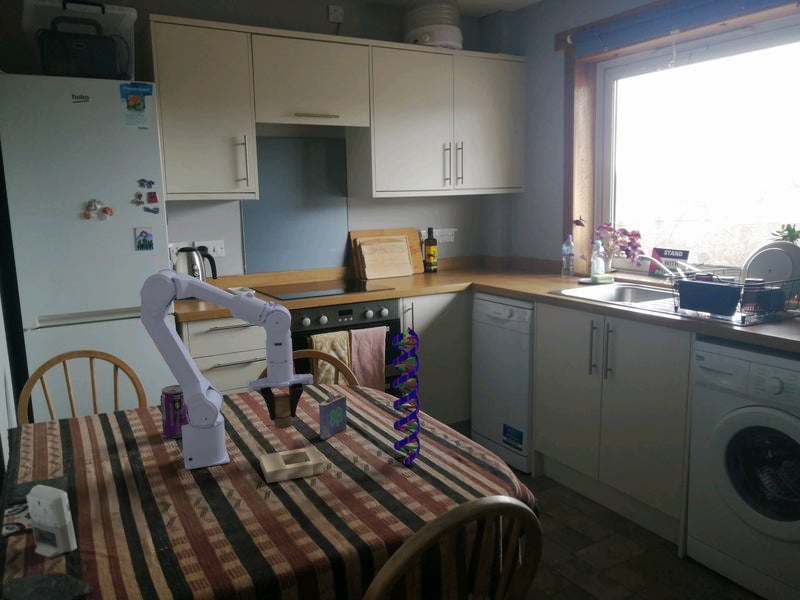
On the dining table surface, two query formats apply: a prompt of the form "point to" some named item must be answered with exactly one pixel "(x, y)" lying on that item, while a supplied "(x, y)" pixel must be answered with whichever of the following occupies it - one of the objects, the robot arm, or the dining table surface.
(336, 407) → the flask
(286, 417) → the peg
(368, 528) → the dining table surface
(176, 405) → the beverage can
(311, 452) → the board
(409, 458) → the dna model
